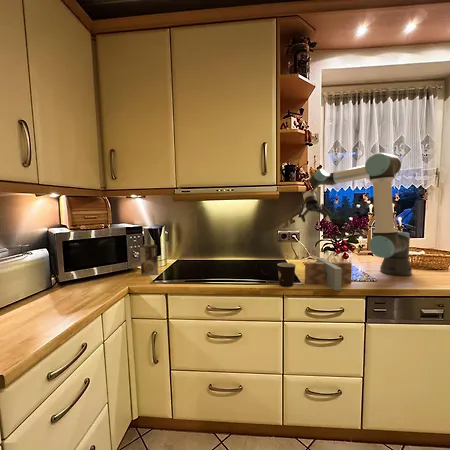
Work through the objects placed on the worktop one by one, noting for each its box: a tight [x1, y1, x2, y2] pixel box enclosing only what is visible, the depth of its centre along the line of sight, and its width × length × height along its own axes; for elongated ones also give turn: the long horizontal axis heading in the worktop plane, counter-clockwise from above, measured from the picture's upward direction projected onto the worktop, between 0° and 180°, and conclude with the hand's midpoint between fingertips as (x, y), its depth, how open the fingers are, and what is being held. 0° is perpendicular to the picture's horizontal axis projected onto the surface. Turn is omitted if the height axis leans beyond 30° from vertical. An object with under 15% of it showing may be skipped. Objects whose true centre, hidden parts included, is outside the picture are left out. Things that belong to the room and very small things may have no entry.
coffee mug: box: [277, 262, 296, 288], centre depth 141 cm, size 12×9×10 cm
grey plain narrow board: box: [316, 257, 342, 291], centre depth 143 cm, size 24×3×10 cm, turn 2°
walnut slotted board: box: [304, 261, 353, 285], centre depth 143 cm, size 22×3×10 cm, turn 92°
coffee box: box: [139, 244, 159, 277], centre depth 162 cm, size 9×6×16 cm
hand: (318, 225), depth 169 cm, fingers open, 13 cm apart
